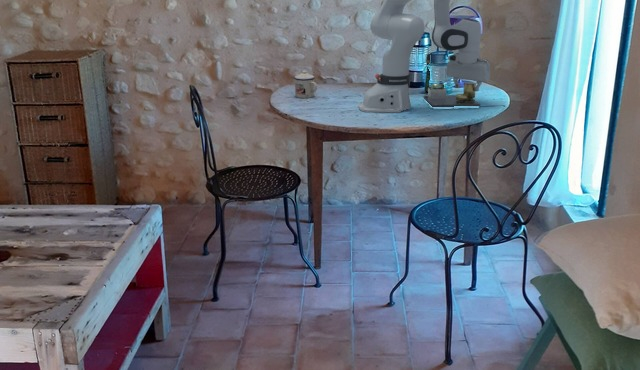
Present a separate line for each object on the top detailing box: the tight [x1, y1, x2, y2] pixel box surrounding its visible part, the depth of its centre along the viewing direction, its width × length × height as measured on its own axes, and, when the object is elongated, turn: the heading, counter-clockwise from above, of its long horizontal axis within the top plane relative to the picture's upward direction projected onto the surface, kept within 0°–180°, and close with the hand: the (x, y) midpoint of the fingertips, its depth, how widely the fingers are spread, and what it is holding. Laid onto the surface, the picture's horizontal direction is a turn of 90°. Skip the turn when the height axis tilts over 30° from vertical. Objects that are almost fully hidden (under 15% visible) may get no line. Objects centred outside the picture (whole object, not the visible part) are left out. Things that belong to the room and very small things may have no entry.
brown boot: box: [455, 81, 477, 101], centre depth 280 cm, size 11×5×6 cm, turn 136°
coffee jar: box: [424, 52, 432, 92], centre depth 302 cm, size 10×8×19 cm
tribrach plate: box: [423, 84, 481, 107], centre depth 281 cm, size 20×18×8 cm
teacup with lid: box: [294, 70, 318, 99], centre depth 297 cm, size 12×9×12 cm
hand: (466, 89), depth 283 cm, fingers open, 8 cm apart
